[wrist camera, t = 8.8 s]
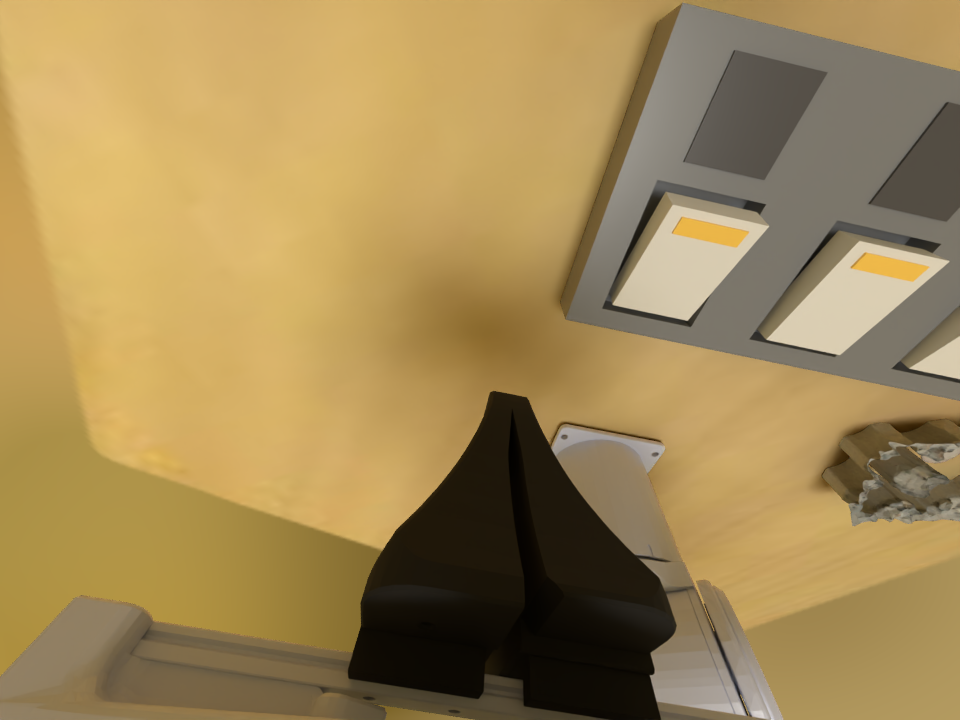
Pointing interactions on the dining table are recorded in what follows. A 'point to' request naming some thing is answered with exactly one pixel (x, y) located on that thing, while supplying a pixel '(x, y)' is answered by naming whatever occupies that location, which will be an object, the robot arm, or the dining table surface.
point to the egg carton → (898, 473)
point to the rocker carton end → (938, 349)
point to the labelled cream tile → (684, 255)
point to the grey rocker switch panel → (782, 182)
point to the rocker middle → (847, 292)
